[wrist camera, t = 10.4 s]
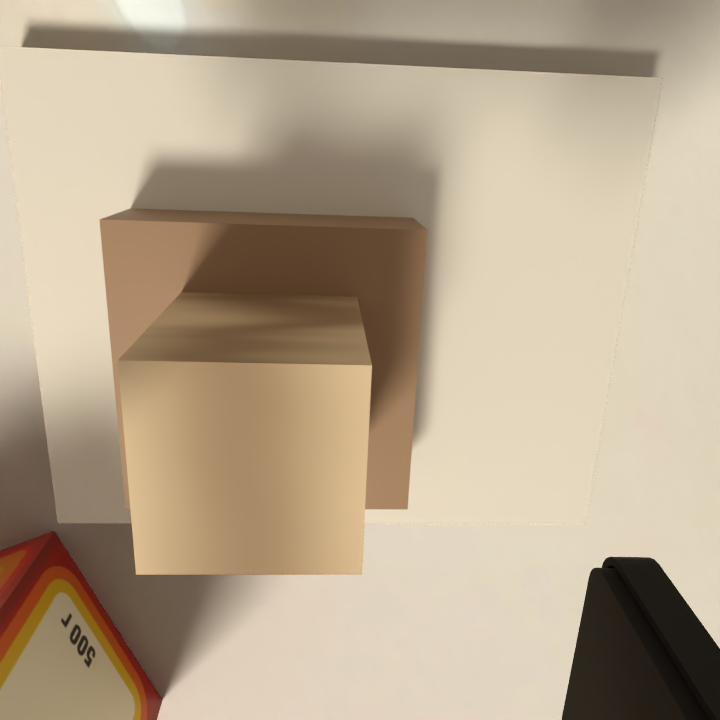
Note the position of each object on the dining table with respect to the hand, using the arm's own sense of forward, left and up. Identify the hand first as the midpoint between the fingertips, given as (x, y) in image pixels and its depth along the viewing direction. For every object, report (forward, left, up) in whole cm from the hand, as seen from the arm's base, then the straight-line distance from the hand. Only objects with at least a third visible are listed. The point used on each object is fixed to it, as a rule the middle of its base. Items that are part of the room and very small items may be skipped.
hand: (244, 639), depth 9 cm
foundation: (-1, -1, -16) cm, 16 cm away
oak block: (+1, 0, -11) cm, 11 cm away
